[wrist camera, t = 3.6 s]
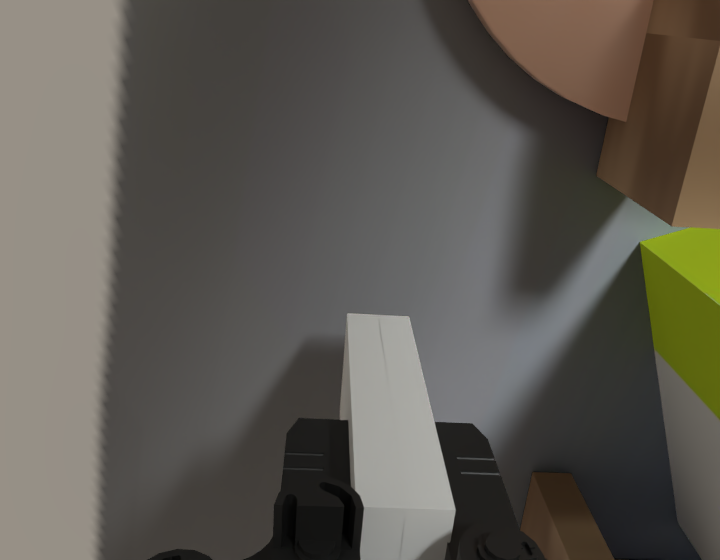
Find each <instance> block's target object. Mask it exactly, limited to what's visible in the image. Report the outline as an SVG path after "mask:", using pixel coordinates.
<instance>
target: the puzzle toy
mask: <svg viewBox="0 0 720 560" xmlns="http://www.w3.org/2000/svg"><path fill="white" fill-rule="evenodd" d="M640 248H641V256H642V263H643V270H644V278H645V285H646V293H647V300H648V307H649V315H650V322H651V329H652V337H653V344H654V352H655V359H656V366H657V374H658V381H659V388H660V396H661V403H662V410H663V418H664V425H665V433H666V440H667V447H668V455H669V462H670V469H671V477H672V484H673V492H674V499H675V506H676V514H677V521H678V524H679V525H680V527H681V528H682V530H683V531H684V533H685V534H686V536H687V538H688V539H689V541H690V542H691V544H692V545H693V547H694V548H695V550H696V551H697V553H698V554H699V556H700V557H701V559H702V560H720V229H710V228H693V227H691V228H687V229H684V230H680V231H677V232H673V233H670V234H666V235H663V236H659V237H656V238H652V239H649V240H645V241H642V242H640Z"/></svg>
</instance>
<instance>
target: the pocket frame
mask: <svg viewBox="0 0 720 560" xmlns="http://www.w3.org/2000/svg"><path fill="white" fill-rule="evenodd" d="M596 176H597V177H599V178H600V179H602V180H603V181H605V182H606V183H608V184H609V185H611V186H612V187H614V188H615V189H617V190H618V191H620V192H621V193H623V194H624V195H626V196H627V197H629V198H630V199H632V200H633V201H635V202H636V203H638V204H639V205H641V206H642V207H644V208H645V209H647V210H648V211H650V212H651V213H653V214H654V215H656V216H657V217H659V218H660V219H662V220H663V221H665V222H666V223H668V224H669V225H671V226H676V227H693V228H710V229H720V0H654V1H653V6H652V10H651V14H650V19H649V23H648V28H647V32H646V37H645V41H644V45H643V50H642V54H641V59H640V63H639V68H638V72H637V76H636V81H635V85H634V90H633V94H632V99H631V103H630V107H629V112H628V116H627V121H626V122H624V121H621V120H617V119H614V118H610V117H609V119H608V123H607V128H606V133H605V137H604V142H603V147H602V151H601V156H600V160H599V165H598V170H597V174H596ZM520 531H522V532H524V533H525V534H526V535H528V536H529V537H530V538H531V539H532V540H534V541H535V542H536V543H537V545H538V547H539V548H540V550H541V551H542V553H543V555H544V557H545V558H546V559H547V560H627V559H614V558H613V556H612V554H611V552H610V550H609V548H608V546H607V544H606V542H605V540H604V538H603V536H602V534H601V532H600V530H599V528H598V526H597V524H596V522H595V520H594V518H593V516H592V514H591V512H590V510H589V508H588V506H587V504H586V502H585V500H584V498H583V496H582V494H581V492H580V490H579V488H578V486H577V484H576V482H575V480H574V478H573V476H572V474H571V473H545V472H532V477H531V481H530V486H529V491H528V495H527V500H526V505H525V509H524V514H523V518H522V523H521V528H520Z"/></svg>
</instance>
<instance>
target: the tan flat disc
mask: <svg viewBox="0 0 720 560" xmlns="http://www.w3.org/2000/svg"><path fill="white" fill-rule="evenodd" d="M653 1H654V0H468V2H469V4H470V5H471V7H472V8H473V10H474V12H475V13H476V15H477V16H478V18H479V19H480V21H481V23H482V24H483V26H484V27H485V29H486V30H487V32H488V33H489V34H490V35H491V37H492V38H493V39H494V40H495V41H496V43H497V44H498V45H499V46H500V47H501V48H502V50H503V51H504V52H505V53H506V54H507V56H508V57H509V58H510V59H512V60H513V61H514V62H515V63H516V64H517V65H518V66H519V67H521V68H522V69H523V70H524V71H525V72H526V73H527V74H528V75H530V76H531V77H532V78H533V79H534V80H536V81H538V82H539V83H541V84H542V85H544V86H545V87H547V88H548V89H550V90H551V91H553V92H554V93H556V94H558V95H559V96H561V97H563V98H565V99H568V100H570V101H572V102H574V103H576V104H578V105H581V106H583V107H585V108H587V109H589V110H592V111H594V112H596V113H599V114H601V115H603V116H607V117H610V118H614V119H617V120H621V121H624V122H626V121H627V116H628V112H629V107H630V103H631V99H632V94H633V90H634V85H635V81H636V76H637V72H638V68H639V63H640V59H641V54H642V50H643V45H644V41H645V37H646V32H647V28H648V23H649V19H650V14H651V10H652V6H653Z"/></svg>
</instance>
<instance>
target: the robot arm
mask: <svg viewBox="0 0 720 560" xmlns="http://www.w3.org/2000/svg"><path fill="white" fill-rule="evenodd" d="M148 560H212V559H211V558H210V557H209V556H207V555H205V554H202V553H200V552H198V551H195V550H182V549H176V550H172V551H167V552H163V553H159V554H157V555H155V556H154V557H152V558H150V559H148ZM243 560H547V559H546V558H545V557H544V555H543V553H542V551H541V550H540V548H539V547H538V545H537V543H536V542H535V541H534V540H532V539H531V538H530V537H529V536H528V535H526V534H525V533H524V532H522V531H520V530H519V527H518V524H517V521H516V518H515V515H514V512H513V510H512V507H511V504H510V501H509V498H508V495H507V493H506V490H505V487H504V484H503V481H502V478H501V476H499V470H498V467H497V464H496V461H494V456H493V453H492V450H491V447H490V444H489V442H488V439H487V438H486V437H485V436H484V435H483V434H482V433H481V432H480V431H479V430H478V429H477V428H476V427H475V426H474V425H473V424H470V423H446V422H434V418H433V414H432V410H431V406H430V401H429V397H428V393H427V389H426V385H425V381H424V376H423V372H422V368H421V364H420V360H419V356H418V352H417V347H416V343H415V339H414V335H413V331H412V327H411V322H410V318H409V316H391V315H371V314H351V313H347V321H346V335H345V348H344V361H343V375H342V388H341V401H340V420H330V419H305V418H299V419H298V420H297V421H296V423H295V424H294V425H293V426H292V428H291V429H290V430H289V431H288V433H287V437H286V447H285V456H284V466H283V475H282V485H281V492H280V493H279V494H278V497H277V499H276V502H275V504H274V527H273V537H272V539H271V541H270V542H269V543H268V544H267V545H266V546H265V547H264V548H263V549H262V550H261V551H259V552H258V553H256V554H254V555H253V556H251V557H249V558H246V559H243Z"/></svg>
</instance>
